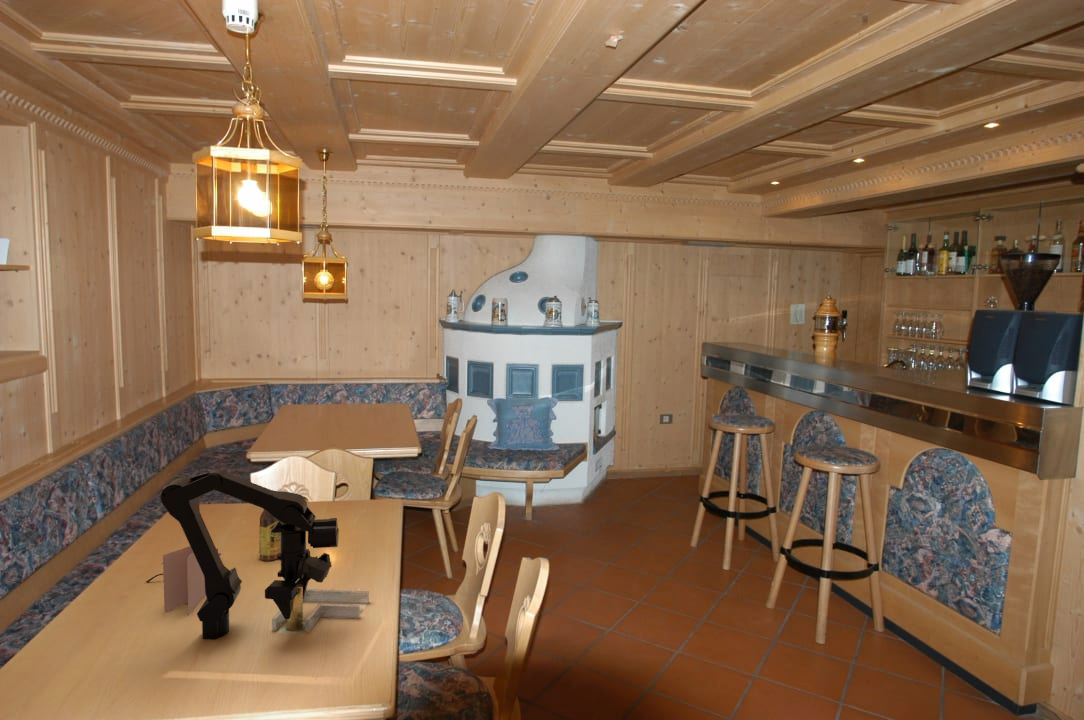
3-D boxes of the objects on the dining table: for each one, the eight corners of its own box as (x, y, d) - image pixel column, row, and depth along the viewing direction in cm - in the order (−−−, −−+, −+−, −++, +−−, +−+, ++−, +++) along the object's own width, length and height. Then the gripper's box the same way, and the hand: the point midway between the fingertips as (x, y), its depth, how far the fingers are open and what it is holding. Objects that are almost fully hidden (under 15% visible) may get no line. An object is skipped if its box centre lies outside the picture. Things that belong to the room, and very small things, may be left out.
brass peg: (299, 631, 159) (298, 591, 158) (282, 630, 159) (282, 590, 158) (305, 623, 163) (305, 583, 162) (289, 622, 163) (288, 583, 162)
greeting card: (203, 594, 180) (202, 540, 178) (221, 601, 176) (220, 546, 175) (162, 611, 170) (160, 554, 168) (180, 618, 166) (179, 560, 165)
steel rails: (349, 633, 159) (349, 621, 158) (272, 630, 159) (271, 618, 159) (368, 602, 175) (368, 591, 175) (299, 599, 176) (298, 588, 175)
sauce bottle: (273, 562, 202) (272, 498, 200) (254, 560, 203) (254, 497, 201) (285, 554, 208) (285, 492, 206) (267, 552, 209) (267, 490, 207)
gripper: (312, 565, 150) (312, 631, 151) (339, 535, 168) (339, 595, 170) (263, 563, 150) (264, 629, 151) (295, 534, 169) (296, 593, 170)
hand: (293, 611), depth 161 cm, fingers open, 7 cm apart
